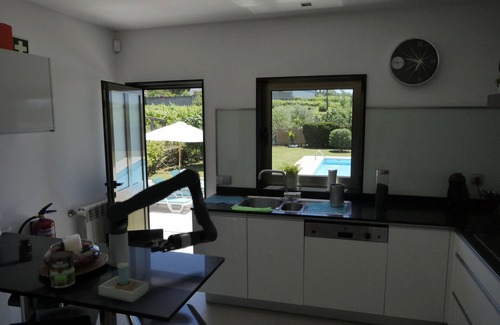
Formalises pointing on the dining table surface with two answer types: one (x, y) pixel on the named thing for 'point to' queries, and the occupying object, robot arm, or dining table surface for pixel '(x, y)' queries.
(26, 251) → the supplement bottle
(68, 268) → the coffee can
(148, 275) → the dining table surface
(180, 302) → the dining table surface
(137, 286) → the open box
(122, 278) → the teal capped tube
